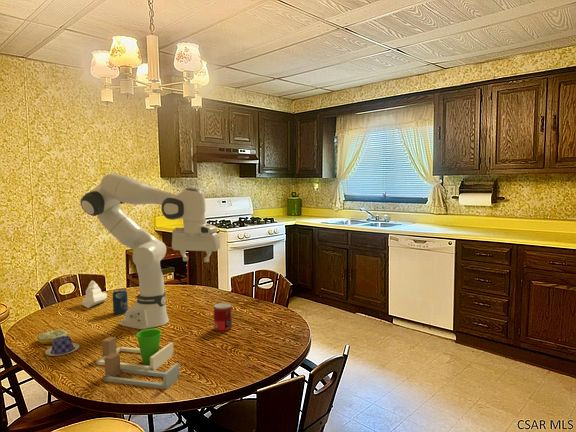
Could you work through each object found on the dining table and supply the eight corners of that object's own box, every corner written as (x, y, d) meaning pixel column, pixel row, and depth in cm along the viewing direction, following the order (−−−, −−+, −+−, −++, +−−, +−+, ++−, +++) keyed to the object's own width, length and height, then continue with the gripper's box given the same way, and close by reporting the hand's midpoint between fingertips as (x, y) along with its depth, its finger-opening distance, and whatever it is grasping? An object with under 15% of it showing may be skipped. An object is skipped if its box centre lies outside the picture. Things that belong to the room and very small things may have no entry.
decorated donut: (71, 340, 170) (70, 331, 170) (42, 348, 162) (42, 339, 162) (62, 334, 177) (62, 325, 177) (35, 341, 169) (34, 332, 169)
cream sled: (93, 364, 146) (92, 345, 146) (118, 349, 159) (117, 332, 159) (153, 371, 140) (152, 352, 140) (173, 355, 153) (172, 337, 152)
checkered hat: (62, 359, 152) (61, 345, 151) (37, 355, 155) (36, 342, 155) (86, 346, 163) (85, 334, 163) (62, 343, 167) (62, 331, 166)
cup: (140, 357, 152) (139, 329, 151) (165, 355, 153) (163, 327, 152) (134, 367, 143) (132, 338, 142) (160, 366, 144) (158, 337, 143)
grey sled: (101, 380, 134) (100, 360, 134) (117, 369, 142) (116, 350, 141) (166, 389, 128) (165, 368, 127) (179, 377, 136) (178, 357, 135)
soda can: (124, 315, 201) (123, 291, 200) (111, 315, 201) (109, 292, 200) (130, 310, 208) (129, 288, 207) (117, 310, 208) (116, 288, 207)
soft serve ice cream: (75, 311, 213) (70, 285, 214) (95, 305, 227) (89, 281, 228) (95, 306, 210) (89, 280, 211) (113, 300, 225) (108, 276, 226)
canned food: (228, 332, 176) (228, 308, 175) (211, 331, 178) (211, 307, 177) (234, 326, 183) (233, 303, 182) (218, 325, 185) (217, 302, 184)
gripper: (168, 228, 162) (169, 261, 163) (214, 229, 156) (215, 263, 158) (176, 226, 168) (177, 258, 169) (220, 227, 162) (221, 260, 164)
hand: (196, 261), depth 163 cm, fingers open, 8 cm apart
